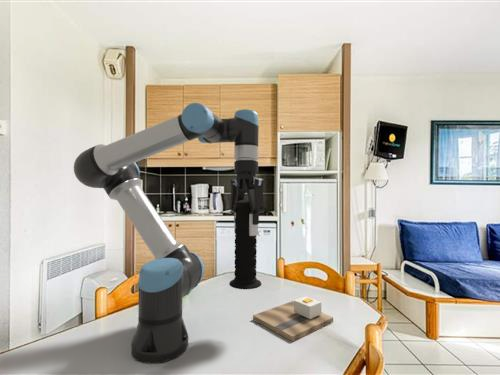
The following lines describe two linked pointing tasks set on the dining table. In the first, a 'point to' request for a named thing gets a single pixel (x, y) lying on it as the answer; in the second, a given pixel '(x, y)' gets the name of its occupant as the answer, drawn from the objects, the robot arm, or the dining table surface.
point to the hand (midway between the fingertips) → (245, 233)
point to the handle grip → (244, 250)
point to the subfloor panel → (291, 321)
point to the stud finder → (307, 307)
